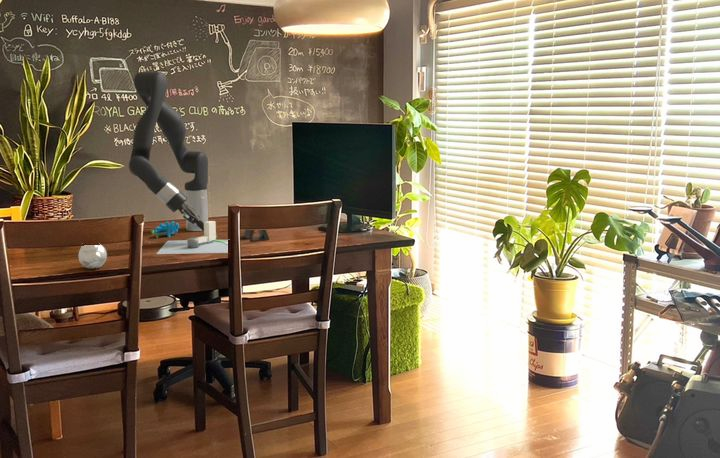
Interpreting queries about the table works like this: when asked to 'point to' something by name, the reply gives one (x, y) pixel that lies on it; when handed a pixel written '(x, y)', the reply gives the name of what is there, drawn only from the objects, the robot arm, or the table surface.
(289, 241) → the table surface
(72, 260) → the table surface
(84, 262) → the grey round ball
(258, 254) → the table surface
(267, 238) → the door stopper
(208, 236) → the white l-shaped block
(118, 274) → the table surface
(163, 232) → the blue toy animal
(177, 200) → the robot arm
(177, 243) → the board
